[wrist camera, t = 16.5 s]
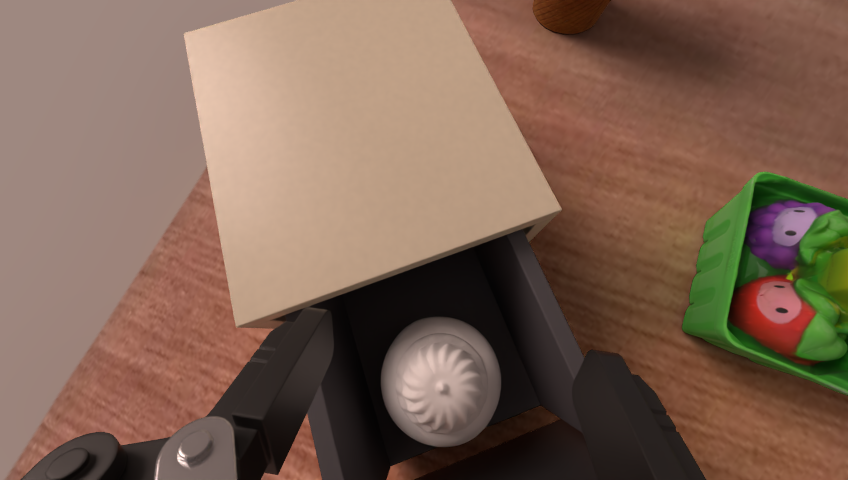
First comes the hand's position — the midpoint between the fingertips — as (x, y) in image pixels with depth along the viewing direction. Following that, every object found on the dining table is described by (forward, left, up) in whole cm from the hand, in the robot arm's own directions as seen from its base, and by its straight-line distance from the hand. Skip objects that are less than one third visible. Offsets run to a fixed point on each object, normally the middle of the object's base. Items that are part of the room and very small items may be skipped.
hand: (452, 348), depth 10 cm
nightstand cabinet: (-10, +5, -13) cm, 17 cm away
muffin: (+1, -1, -11) cm, 11 cm away
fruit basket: (+14, +16, -13) cm, 25 cm away
